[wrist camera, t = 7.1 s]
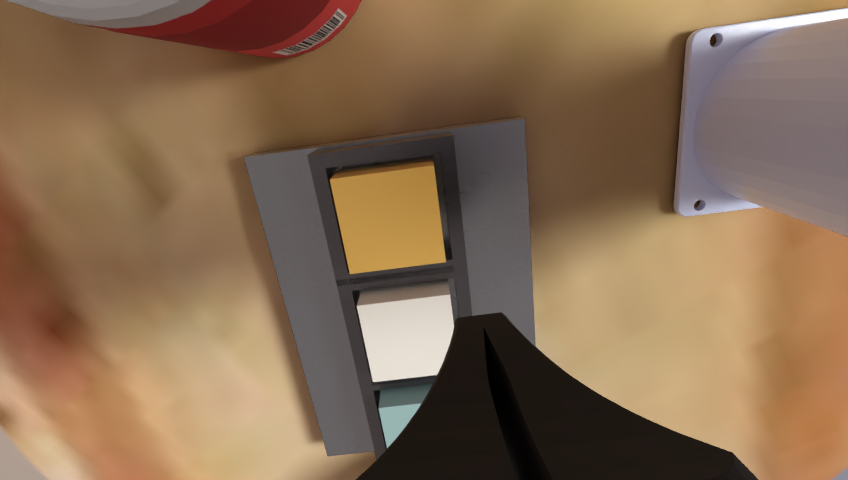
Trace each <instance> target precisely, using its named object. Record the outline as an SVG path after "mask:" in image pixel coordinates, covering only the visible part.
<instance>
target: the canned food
mask: <svg viewBox="0 0 848 480" xmlns="http://www.w3.org/2000/svg"><path fill="white" fill-rule="evenodd" d="M7 1H10V2H13V3H16V4H19V5H22V6H25V7H28V8H31V9H34V10H36V11H39V12H42V13H45V14H48V15H51V16H54V17H57V18H60V19H63V20H66V21H69V22H72V23H75V24H80V25H86V26H91V27H97V28H103V29H107V30H110V31H114V32H119V33H125V34H131V35H137V36H143V37H149V38H154V39H160V40H166V41H172V42H178V43H184V44H190V45H196V46H202V47H208V48H214V49H220V50H226V51H232V52H238V53H244V54H250V55H256V56H263V57H271V58H283V57H294V56H298V55H301V54H304V53H307V52H310V51H313V50H315V49H317V48H318V47H320V46H322V45H323V44H325V43H327V42H328V41H330V40H331V39H332V38H333V37H334V36H335V35H336V34H338V33H339V32H340V31H341V30H342V29H343V28H344V27H345V26H346V24H347V23H348V21H349V20H350V19H351V17H352V16H353V15H354V13H355V12H356V10H357V8H358V6H359V4H360V2H361V0H7Z"/></svg>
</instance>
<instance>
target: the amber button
mask: <svg viewBox="0 0 848 480" xmlns="http://www.w3.org/2000/svg"><path fill="white" fill-rule="evenodd" d="M330 183H331V188H332V193H333V197H334V202H335V207H336V211H337V216H338V221H339V225H340V230H341V235H342V239H343V244H344V249H345V253H346V258H347V263H348V268H349V272H350V274H355V273H363V272H371V271H379V270H387V269H395V268H403V267H411V266H419V265H427V264H435V263H443V262H446V258H445V250H444V242H443V234H442V225H441V217H440V209H439V201H438V193H437V185H436V177H435V169H434V162H433V157H428V158H420V159H413V160H405V161H398V162H391V163H383V164H376V165H368V166H361V167H353V168H346V169H339V170H338V171H337V172H336V173H335V174H334V175H333V176H332V177H331V178H330Z"/></svg>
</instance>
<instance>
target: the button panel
mask: <svg viewBox="0 0 848 480" xmlns="http://www.w3.org/2000/svg"><path fill="white" fill-rule="evenodd" d="M428 157H433V162H434V169H435V177H436V185H437V193H438V201H439V209H440V217H441V225H442V234H443V242H444V250H445V258H446V262H443V263H435V264H427V265H419V266H411V267H403V268H395V269H387V270H379V271H371V272H363V273H355V274H350V272H349V268H348V263H347V258H346V253H345V249H344V244H343V239H342V235H341V230H340V225H339V221H338V216H337V211H336V207H335V202H334V197H333V193H332V188H331V183H330V178H331V177H332V176H333V175H334V174H335V173H336V172H337V171H338V170H339V169H346V168H353V167H361V166H368V165H376V164H383V163H391V162H398V161H405V160H413V159H420V158H428ZM244 160H245V164H246V167H247V171H248V174H249V178H250V181H251V185H252V188H253V192H254V196H255V199H256V203H257V206H258V210H259V213H260V217H261V221H262V224H263V228H264V231H265V235H266V238H267V242H268V246H269V249H270V253H271V256H272V260H273V263H274V267H275V270H276V274H277V278H278V281H279V285H280V288H281V292H282V295H283V299H284V303H285V306H286V310H287V313H288V317H289V320H290V324H291V328H292V331H293V335H294V338H295V342H296V345H297V349H298V353H299V356H300V360H301V363H302V367H303V370H304V374H305V377H306V381H307V385H308V388H309V392H310V395H311V399H312V402H313V406H314V410H315V413H316V417H317V420H318V424H319V427H320V431H321V435H322V438H323V442H324V445H325V449H326V452H327V456H335V455H344V454H354V453H363V452H372V451H375V455H376V460H377V459H378V458H379V457H380V456H381V455H382V454H383V452H384V451H385V450H386V449H387V446H386V441H385V436H384V432H383V427H382V422H381V417H380V413H379V401H380V393H381V390H383V389H392V388H401V387H410V386H419V385H427V384H433V383H434V380H435V378H436V376H437V375H432V376H423V377H414V378H406V379H397V380H388V381H379V382H373V380H372V375H371V371H370V366H369V361H368V357H367V352H366V347H365V342H364V338H363V333H362V328H361V324H360V319H359V314H358V310H357V303H358V300H359V296H360V293H361V290H362V289H370V288H378V287H386V286H395V285H403V284H411V283H419V282H427V281H435V280H443V279H448V283H449V290H450V298H451V306H452V314H453V322H454V321H455V320H456V319H457V318H458V317H466V316H475V315H483V314H491V313H499V312H502V313H503V314H504V315H506V317H507V318H508V319H509V320H510V321H511V322H512V324H513V325H514V326H515V327H516V328H517V329H518V330H519V331H520V332H521V333H522V334H523V335H524V336H525V337H526V338H527V339H528V340H529V341H530V342H531V343H532V344H533V345H534V346H535V325H534V304H533V283H532V261H531V240H530V219H529V198H528V176H527V155H526V134H525V119H524V118H520V117H514V118H506V119H499V120H492V121H485V122H477V123H470V124H463V125H455V126H448V127H441V128H434V129H426V130H419V131H412V132H404V133H397V134H390V135H383V136H375V137H368V138H361V139H353V140H346V141H339V142H331V143H324V144H317V145H310V146H302V147H295V148H288V149H280V150H273V151H266V152H259V153H253V154H251V155H248V156H246V157H244Z"/></svg>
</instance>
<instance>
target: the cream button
mask: <svg viewBox="0 0 848 480" xmlns="http://www.w3.org/2000/svg"><path fill="white" fill-rule="evenodd" d="M357 310H358V314H359V319H360V324H361V328H362V333H363V338H364V342H365V347H366V352H367V357H368V361H369V366H370V371H371V375H372V380H373V382H379V381H388V380H397V379H406V378H414V377H423V376H432V375H437V374H438V372H439V370H440V368H441V366H442V363H443V361H444V358H445V356H446V353H447V350H448V348H449V345H450V341H451V338H452V334H453V330H454V322H453V314H452V306H451V298H450V290H449V283H448V279H443V280H435V281H427V282H419V283H411V284H403V285H395V286H386V287H378V288H370V289H362V290H361V293H360V296H359V300H358V303H357Z"/></svg>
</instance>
